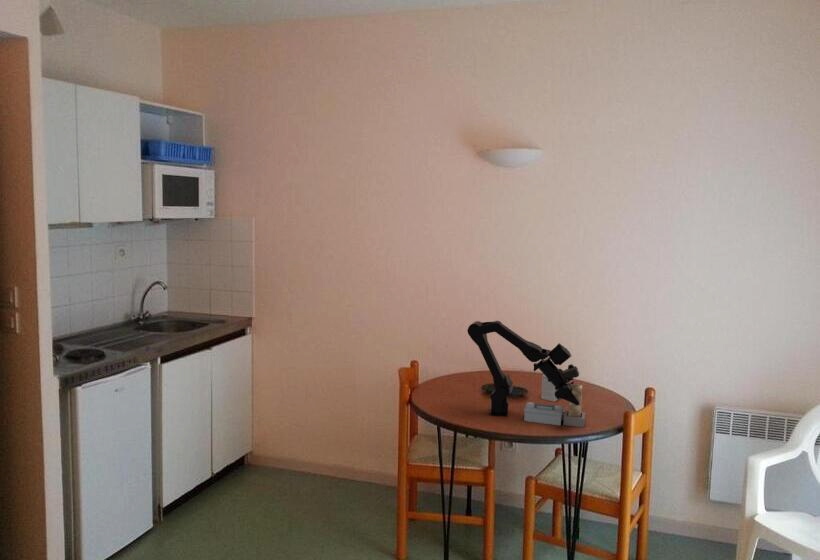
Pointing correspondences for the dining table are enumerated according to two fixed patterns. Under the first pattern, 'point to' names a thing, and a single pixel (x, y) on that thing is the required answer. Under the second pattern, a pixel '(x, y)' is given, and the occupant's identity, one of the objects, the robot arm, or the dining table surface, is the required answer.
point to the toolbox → (551, 415)
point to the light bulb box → (548, 390)
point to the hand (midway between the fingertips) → (579, 402)
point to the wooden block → (577, 391)
